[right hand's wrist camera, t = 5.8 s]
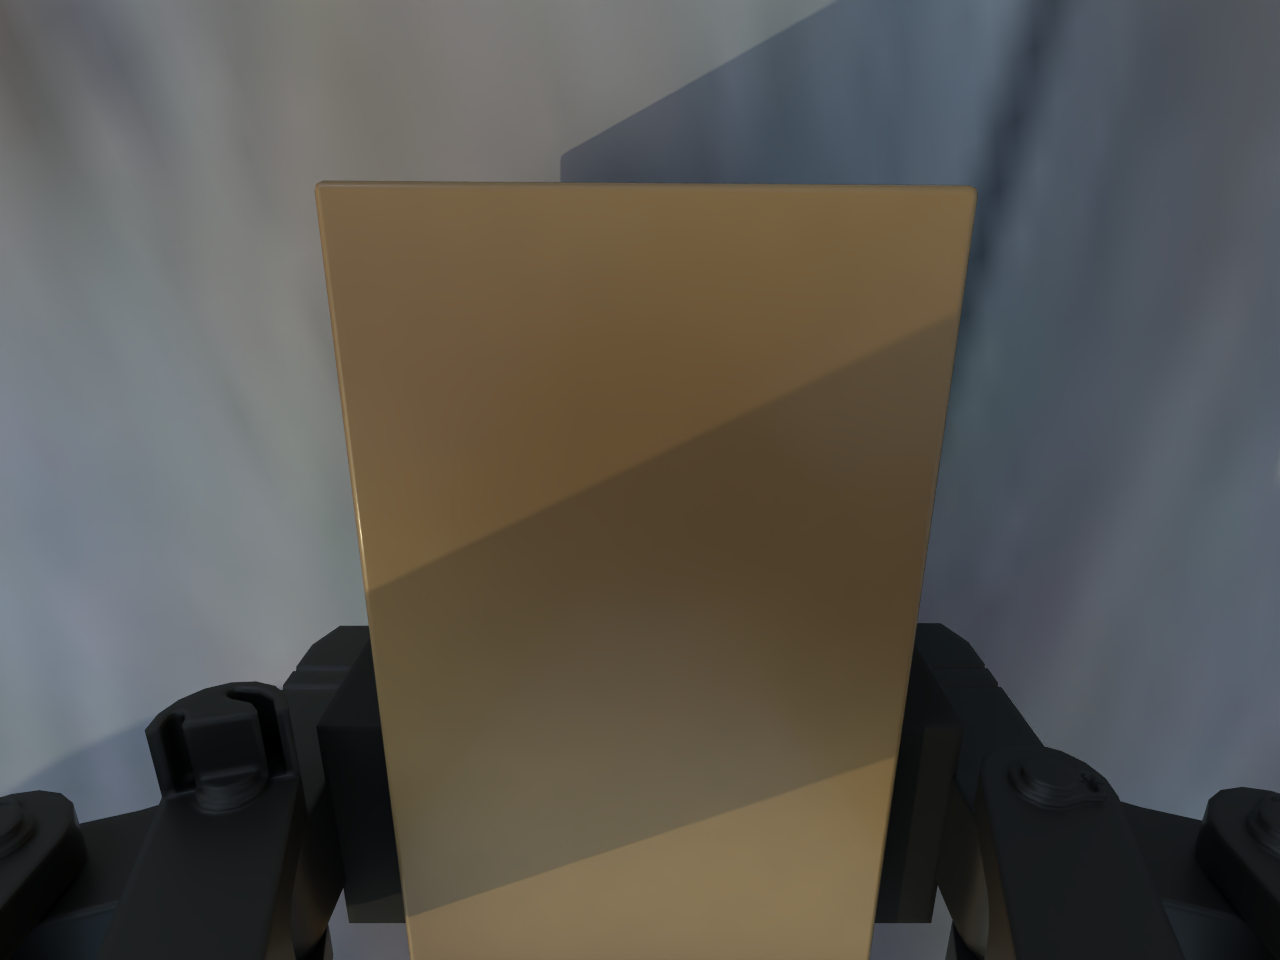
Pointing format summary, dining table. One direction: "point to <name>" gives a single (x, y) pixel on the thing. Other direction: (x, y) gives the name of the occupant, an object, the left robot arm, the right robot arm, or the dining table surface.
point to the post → (643, 547)
